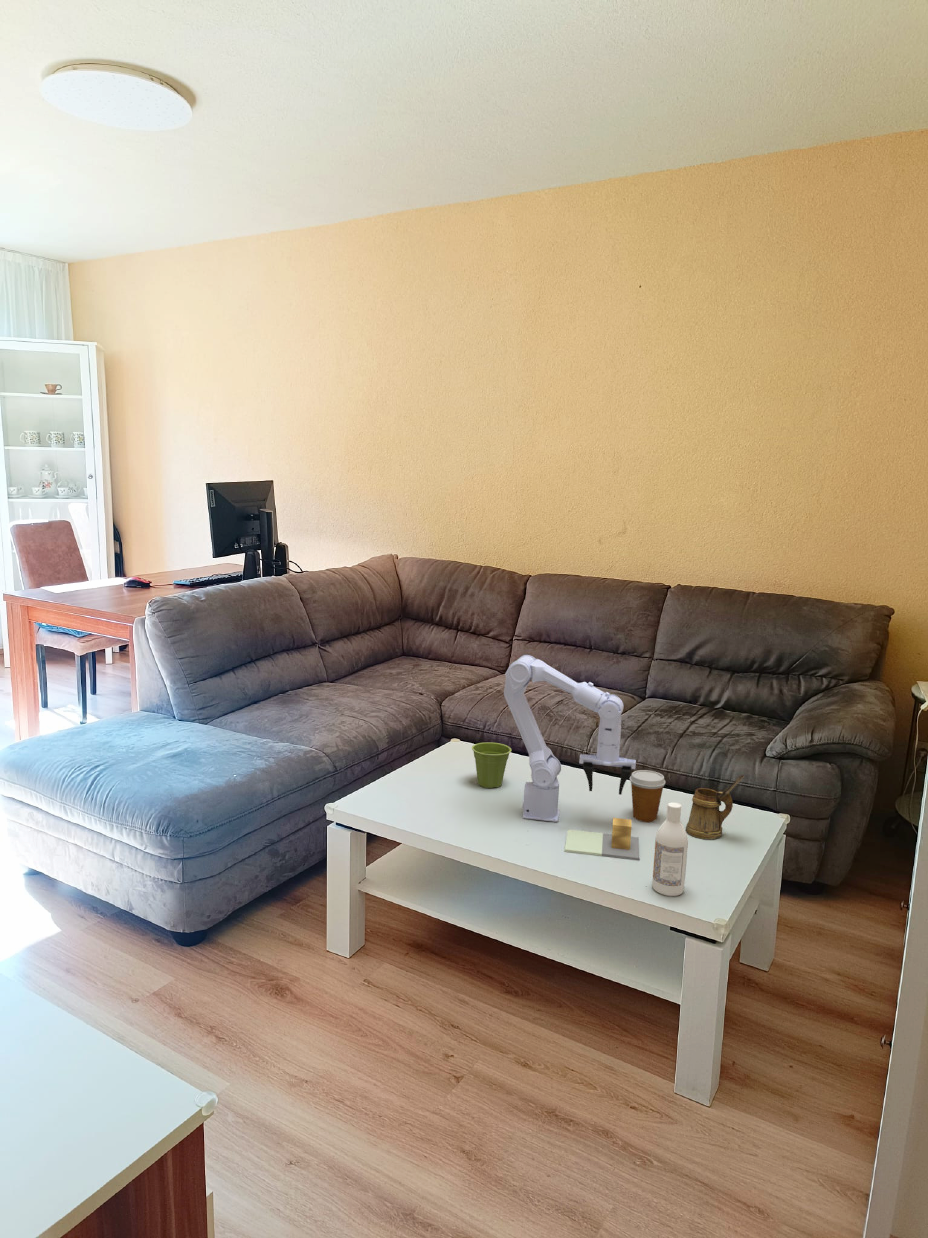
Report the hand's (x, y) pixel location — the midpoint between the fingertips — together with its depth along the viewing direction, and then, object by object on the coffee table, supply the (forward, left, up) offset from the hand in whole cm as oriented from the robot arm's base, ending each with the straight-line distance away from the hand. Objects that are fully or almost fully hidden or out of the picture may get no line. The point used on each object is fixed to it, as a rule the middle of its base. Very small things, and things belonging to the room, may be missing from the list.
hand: (605, 791), depth 212 cm
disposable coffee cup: (+11, +8, -10) cm, 17 cm away
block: (+5, -13, -9) cm, 16 cm away
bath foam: (+15, -32, -10) cm, 37 cm away
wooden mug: (+28, +1, -10) cm, 30 cm away
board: (0, -13, -9) cm, 16 cm away
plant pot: (-34, +21, -10) cm, 41 cm away
